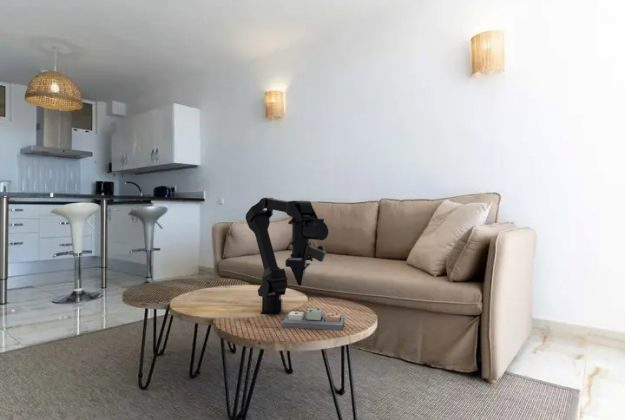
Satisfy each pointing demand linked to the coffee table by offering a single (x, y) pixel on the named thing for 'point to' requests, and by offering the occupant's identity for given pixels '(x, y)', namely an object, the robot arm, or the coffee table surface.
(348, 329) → the coffee table surface
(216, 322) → the coffee table surface
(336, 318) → the tile three
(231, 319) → the coffee table surface
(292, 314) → the tile one
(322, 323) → the board
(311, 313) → the tile two
